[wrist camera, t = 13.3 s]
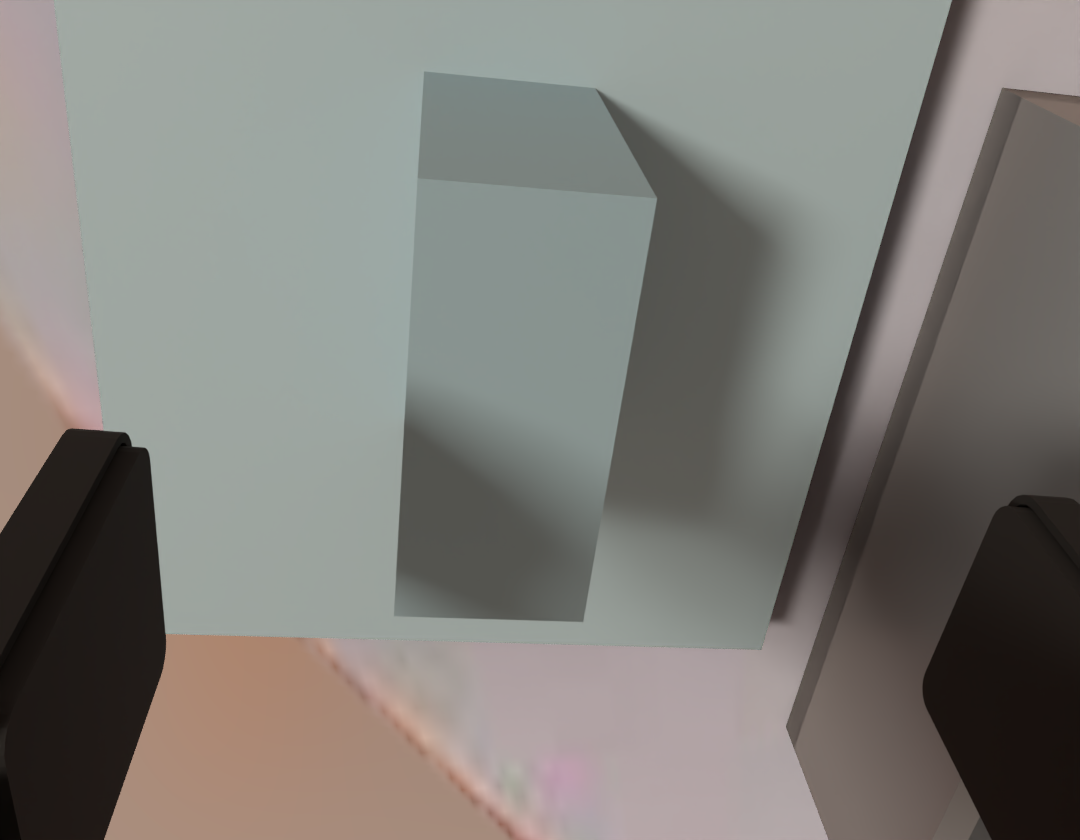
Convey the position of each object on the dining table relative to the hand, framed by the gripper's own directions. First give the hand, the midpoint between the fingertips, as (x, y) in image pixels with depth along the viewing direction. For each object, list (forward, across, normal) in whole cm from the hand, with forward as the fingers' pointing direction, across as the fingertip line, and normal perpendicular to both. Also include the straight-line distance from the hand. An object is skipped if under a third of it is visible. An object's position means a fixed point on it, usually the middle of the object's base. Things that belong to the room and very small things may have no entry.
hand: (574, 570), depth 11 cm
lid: (+12, +1, +1) cm, 12 cm away
